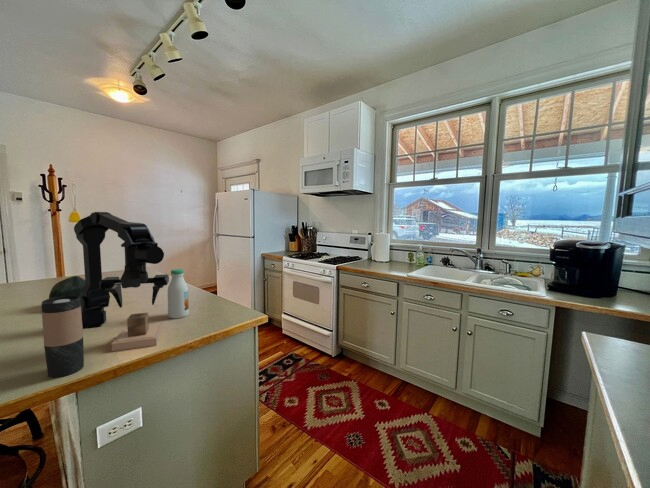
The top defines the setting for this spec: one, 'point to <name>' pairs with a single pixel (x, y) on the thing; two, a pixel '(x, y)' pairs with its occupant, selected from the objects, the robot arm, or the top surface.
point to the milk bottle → (177, 295)
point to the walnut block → (138, 324)
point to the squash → (68, 287)
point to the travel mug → (63, 335)
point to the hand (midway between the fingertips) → (137, 305)
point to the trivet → (137, 339)
